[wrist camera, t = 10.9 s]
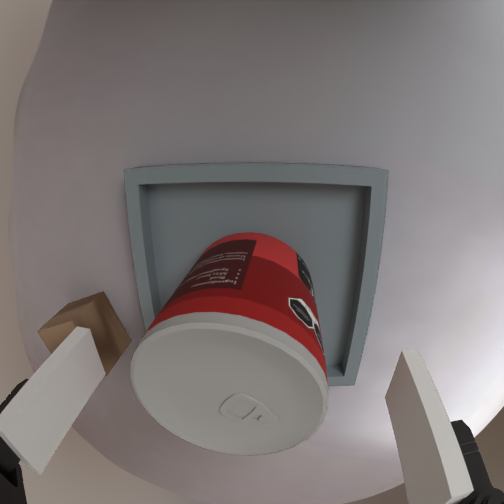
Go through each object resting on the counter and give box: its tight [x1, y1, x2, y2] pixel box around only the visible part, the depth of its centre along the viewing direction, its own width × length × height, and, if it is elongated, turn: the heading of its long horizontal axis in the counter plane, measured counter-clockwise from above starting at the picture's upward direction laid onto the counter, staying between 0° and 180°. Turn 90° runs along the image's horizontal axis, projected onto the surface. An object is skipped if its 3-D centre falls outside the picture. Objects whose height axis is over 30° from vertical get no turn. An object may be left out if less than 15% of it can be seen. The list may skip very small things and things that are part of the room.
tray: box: [124, 162, 388, 386], centre depth 21 cm, size 16×16×2 cm
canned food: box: [130, 232, 328, 456], centre depth 16 cm, size 8×8×11 cm
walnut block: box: [37, 291, 132, 376], centre depth 22 cm, size 5×5×5 cm
